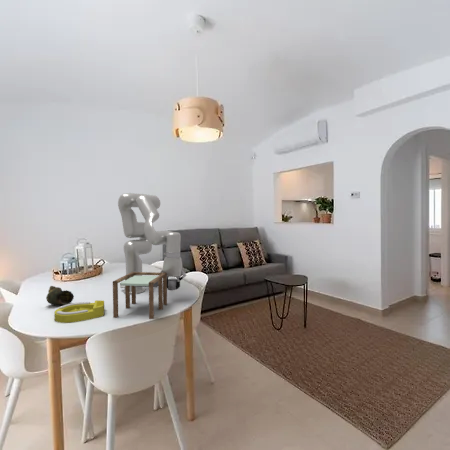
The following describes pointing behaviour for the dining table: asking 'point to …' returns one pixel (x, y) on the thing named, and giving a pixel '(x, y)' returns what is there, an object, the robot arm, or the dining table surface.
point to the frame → (161, 293)
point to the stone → (172, 284)
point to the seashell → (59, 296)
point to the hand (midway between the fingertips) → (172, 287)
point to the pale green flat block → (139, 281)
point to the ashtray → (79, 311)
